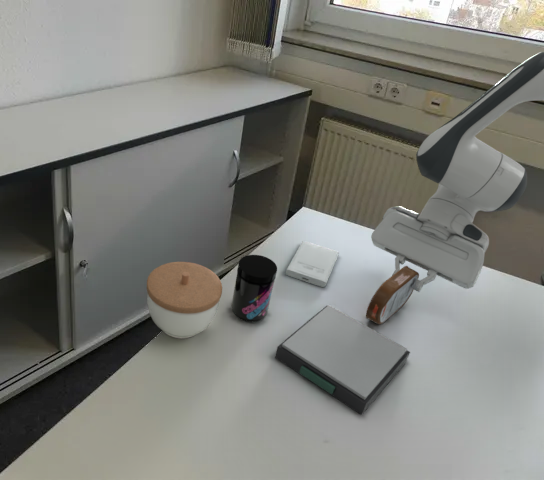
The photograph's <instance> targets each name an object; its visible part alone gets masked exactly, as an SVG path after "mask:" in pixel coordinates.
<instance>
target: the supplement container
mask: <svg viewBox="0 0 544 480" xmlns="http://www.w3.org/2000/svg"><path fill="white" fill-rule="evenodd" d="M277 273H278V265H277V264H276V263H275V261H273V260H272V259H271V258H269V257H268V256H267V257H266V256H264V255H260V254H248V255H247V254H246V255H245V256H242V257H241V258H240V259H239V260H238V265H237V270H236V277H235V283H234V288H233V289H234V290H233V294H232V300H231V306H230V307H231V311H232V313H233V315H234V316H235V317H236V318H237V319H239V320H240V321H243V322H247V323H259V322H260V321H262V320H264V319H265V318H266V316H267V315H268V312H269V307H270V303H271V299H272V294H273V289H274V285H275V280H276V278H277Z"/></svg>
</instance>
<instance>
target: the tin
mask: <svg viewBox="0 0 544 480" xmlns="http://www.w3.org/2000/svg"><path fill="white" fill-rule="evenodd" d="M415 279H418V280H419V279H420V273H419V272H418V271H416V270H414V269H412V268H411V267H410V266H408V265H404V266H403V267H401V268H400V270H399V271H398V272H397V273H395V274H394V275H393V276H392V275H391V276H390V277H389V278H387V279H386V280H385V281H383V282H382V284H381V285H380V286H379V287H378V288H377V290H376V291H375V292H374V294H373V295H372V298H371V299H370V301H369V303H368V306H367V308H366V312H365V318H366V320H367V319H368V320H370V321H372V322H374V323H375V324H377V325H383V324H384V323H386V321H388V320H389V319H390V318H391V317H393V315H395V314H396V313H397V312H398V311H399V310H400V309H402V307H403V306H405V304H406V303H407V302H408V300H409V299H410V297H411V295H412V294H413V293H414V289H412V288H411V286H412V284H413V283H414V281H415Z"/></svg>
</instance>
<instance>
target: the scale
mask: <svg viewBox="0 0 544 480" xmlns="http://www.w3.org/2000/svg"><path fill="white" fill-rule="evenodd" d="M410 354H411V351H410V350H408V348H406V347H404V346H402V345H400V344H399V343H398V342H396V341H394V340H393V339H391V338H389V337H387V336H385V335H383V334H382V333H379V332H378V331H376V330H375V329H373V328H371V327H370V326H368V325H365V324H364V323H362V322H360V321H358V320H356V319H355V318H353V317H351V316H350V315H347V314H346V313H344V312H342V311H340V310H339V309H337V308H336V307H333V306H332V305H330V304H326V305H325V306H324V307H323V308H322V309H320V310H319V311H318V312H317V313H316V314H314V316H312V317H311V318H310V319H308V320H307V321H306V322H305V323H304V324H303V325H301V326H300V327H299V328H298V329H296V330H295V331H294V332H293V333H292V334H291V335H290V336H288V337H287V338H286V339H285V340H283V341H282V342H281V343H280V344H279V345H277V347H276V350H275V355H274V358H275V359H277V360H279V361H280V362H281V363H283V364H284V365H286V367H289V368H291V370H293V371H295V372H296V373H298V374H299V375H301V376H302V377H304V378H305V379H307V380H308V381H310V382H311V383H313V384H314V385H315V386H317V387H319V388H321V390H323V391H325V392H327V393H328V394H329V395H331V396H332V397H334V398H335V399H337V400H339V401H340V402H341V403H342V404H345V405H346V406H347V407H349V408H351V409H352V410H354V411H355V412H356V413H358V414H359V415H363V414H364V413H365V412H366V410H368V408H369V407H370V406H371V404H373V402H374V401H375V400H376V398H377V397H378V396H379V395H380V393H382V391H383V390H384V389H385V388H386V387H387V385H388V384H389V383H390V381H392V380H393V378H394V377H395V376H396V375H397V373H398V372H399V371H400V370H401V369H402V368H403V366H404V365H405V364H407V361H408V358H409V356H410Z"/></svg>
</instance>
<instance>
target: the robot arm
mask: <svg viewBox="0 0 544 480" xmlns="http://www.w3.org/2000/svg"><path fill="white" fill-rule="evenodd" d="M533 101H535V102H536V101H540V102H542V101H543V102H544V51H540V52H538V53H536V54H535V55H533V56H531V57H529V58H528V59H526V60H524V61H523V62H522V63H521V64H519V65H518V66H516V67H515V68H514V69H512V70H511V71H510V72H508V73H507V74H506V75H505V76H503V77H502V78H501V79H500V80H499V81H497V82H495V84H494V85H492V86H491V87H490V88H488V89H487V90H485V92H484V93H482V94H481V95H480V96H479V97H477V98H476V99H475V100H474V101H473V102H472V103H470V104H469V105H468V106H467V107H466V108H464V109H463V110H462V111H460V112H459V113H458V114H457V115H455V116H453V118H452V119H450V120H448V121H447V122H445V123H444V124H443V125H441V126H439V127H438V128H437V129H436V130H435V131H433V132H432V133H430V134H429V135H428V136H427V137H426V138H425V139H424V140H423V141H422V142H421V144H420V146H419V148H418V149H417V151H416V154H415V158H416V164H417V167H418V170H419V173H420V175H421V176H423V177H424V178H426V179H428V180H430V181H432V182H434V183H437V184H438V186H437V189H436V191H435V192H434V193H433V195H431V196H430V197H429V199H428V200H427V202H426V203H425V205H424V206H423V208H422V210H421V211H420V213H418V212H415V211H413V210H409V209H406V208H405V207H404V206H400V205H397V206H391V207H389V208H388V209H387V210H386V211H385V213H384V214H383V215H382V220H381V221H380V222H379V224H378V225H377V226H376V227H375V228H374V230H373V232H372V233H371V236H370V238H371V239H370V240H371V242H372V245H373V246H374V247H376V248H378V249H380V250H383V251H384V252H387V253H389V254H391V255H393V256H395V258H394V266H395V267H394V268H395V269H394V271H393V273H392V275H391V276H393V275H394V274H395V273H397V272H398V271H399V270H400V269H401V265H404V264H405V262H407V263H410V264H412V265H414V266H417V267H419V268H421V269H423V270H425V271H427V272H426V276H425V277H423V278H422V279H419V278H418V279H415V281H414V283H413V284H412V286H411V288H412V289H413V291H416V292H418V293H420V292H421V290H422V289H423V287H424V286H425V285H427V284H430V283H431V282H433V281H435V280H436V278H437V277H440V278H442V279H444V280H445V281H446V280H447V281H449V282H451V283H452V284H455V285H457V286H459V287H461V288H463V289H465V290H469V289H472V288H473V287H475V285H476V284H477V281H478V280H479V277H480V275H481V272H482V270H483V266H484V262H485V253H487V250H488V248H489V245H490V238H489V236H488V234H487V233H486V232H485V231H483V230H482V229H481V228H479V227H478V226H477V225H476V224H474V223H473V222H474V219H475V217H476V215H477V213H478V212H479V211H481V212H483V213H495V212H496V213H497V212H502V211H507V210H510V209H511V208H513V207H514V206H515V205H516V204H517V203H518V201H519V200H520V199H521V197H522V195H523V194H524V193H525V190H526V189H527V185H528V173H527V170H526V167H524V166H523V165H521V163H519V162H517V161H516V160H514V159H513V158H511V157H510V156H508V155H507V154H504V153H503V152H501V151H498V150H497V149H495V148H494V147H492V146H491V145H489V144H487V143H486V142H484V141H483V140H480V139H479V138H477V135H478V134H480V133H481V132H482V131H483V130H485V129H486V128H488V126H490V125H491V124H492V123H493V122H495V121H497V119H499V118H500V117H502V116H503V115H504V114H505V113H506V112H508V111H509V110H511V109H513V108H514V107H515V106H517V105H520V104H522V103H527V102H533Z"/></svg>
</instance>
